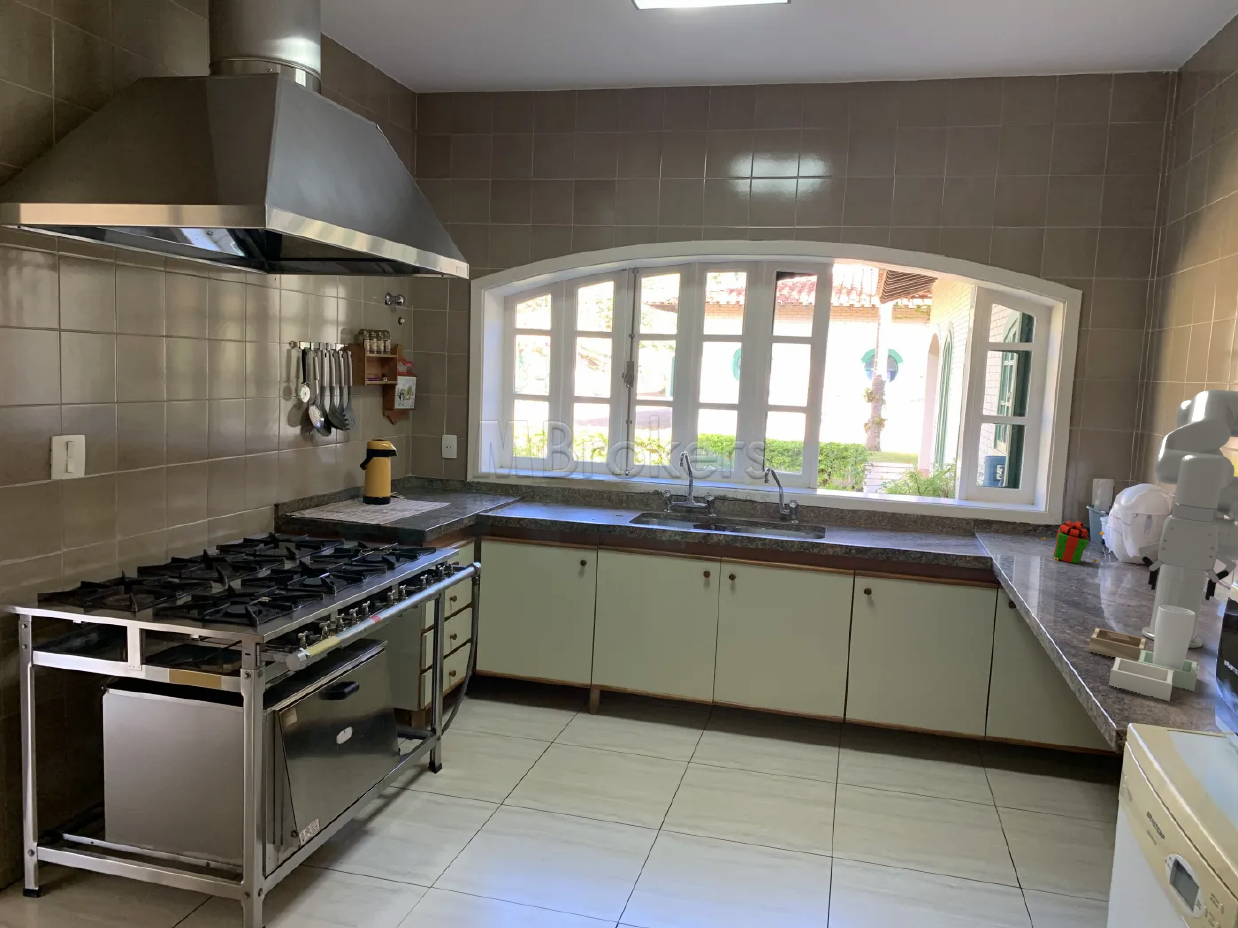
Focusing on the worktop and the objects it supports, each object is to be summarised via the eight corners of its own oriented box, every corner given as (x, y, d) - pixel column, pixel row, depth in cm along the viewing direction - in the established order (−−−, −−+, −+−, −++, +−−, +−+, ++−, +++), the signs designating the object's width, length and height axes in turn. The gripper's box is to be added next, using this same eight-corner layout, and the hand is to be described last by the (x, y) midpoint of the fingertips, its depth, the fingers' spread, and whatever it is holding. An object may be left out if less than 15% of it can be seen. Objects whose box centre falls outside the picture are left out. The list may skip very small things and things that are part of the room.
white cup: (1187, 686, 179) (1199, 616, 177) (1150, 679, 181) (1162, 610, 179) (1179, 675, 185) (1191, 608, 183) (1143, 669, 188) (1155, 602, 186)
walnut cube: (1104, 648, 200) (1107, 632, 200) (1124, 652, 199) (1127, 635, 199) (1108, 653, 197) (1111, 637, 196) (1128, 657, 195) (1130, 640, 195)
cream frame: (1113, 672, 184) (1115, 656, 183) (1171, 686, 178) (1174, 670, 177) (1108, 685, 175) (1111, 669, 175) (1169, 701, 169) (1172, 684, 169)
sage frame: (1138, 664, 190) (1140, 649, 190) (1195, 677, 185) (1197, 662, 184) (1134, 676, 182) (1137, 661, 182) (1194, 691, 176) (1197, 674, 176)
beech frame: (1092, 641, 205) (1095, 627, 205) (1144, 653, 199) (1146, 638, 199) (1088, 651, 197) (1090, 637, 196) (1141, 664, 191) (1144, 649, 190)
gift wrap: (1096, 574, 288) (1108, 534, 284) (1036, 559, 295) (1047, 519, 292) (1093, 560, 305) (1105, 522, 302) (1036, 545, 313) (1047, 508, 309)
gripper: (1243, 519, 177) (1229, 600, 179) (1146, 505, 186) (1133, 582, 188) (1245, 523, 171) (1230, 606, 173) (1144, 508, 180) (1131, 587, 182)
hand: (1179, 593), depth 180 cm, fingers open, 9 cm apart
